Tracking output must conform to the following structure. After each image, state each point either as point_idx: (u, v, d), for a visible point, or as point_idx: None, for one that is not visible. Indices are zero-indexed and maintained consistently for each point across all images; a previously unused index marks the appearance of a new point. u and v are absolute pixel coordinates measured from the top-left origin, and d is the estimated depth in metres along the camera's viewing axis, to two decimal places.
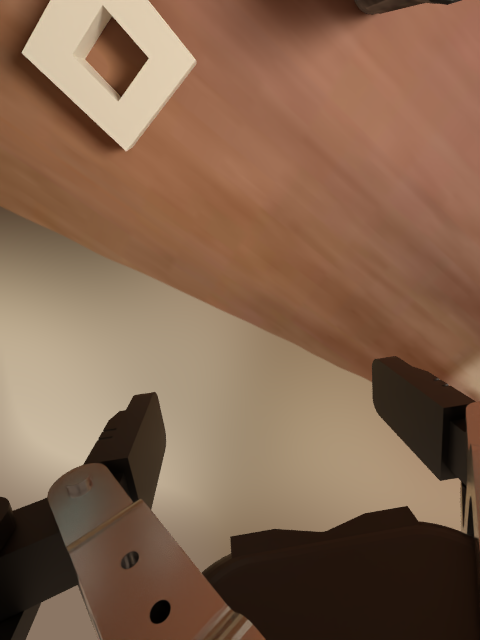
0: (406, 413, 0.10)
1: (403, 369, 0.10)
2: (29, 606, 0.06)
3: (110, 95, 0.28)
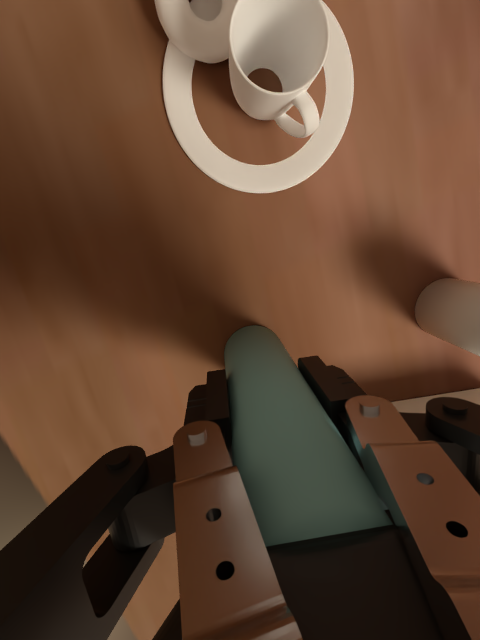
0: None
1: (316, 367, 0.11)
2: (162, 536, 0.07)
3: None
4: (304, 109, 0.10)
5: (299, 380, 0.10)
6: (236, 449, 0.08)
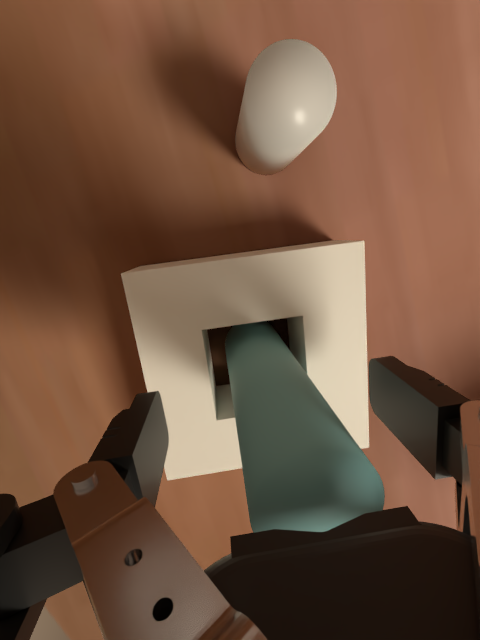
0: (402, 412, 0.10)
1: (399, 369, 0.10)
2: (36, 602, 0.06)
3: (211, 406, 0.14)
4: None
5: (293, 362, 0.11)
6: (240, 417, 0.09)
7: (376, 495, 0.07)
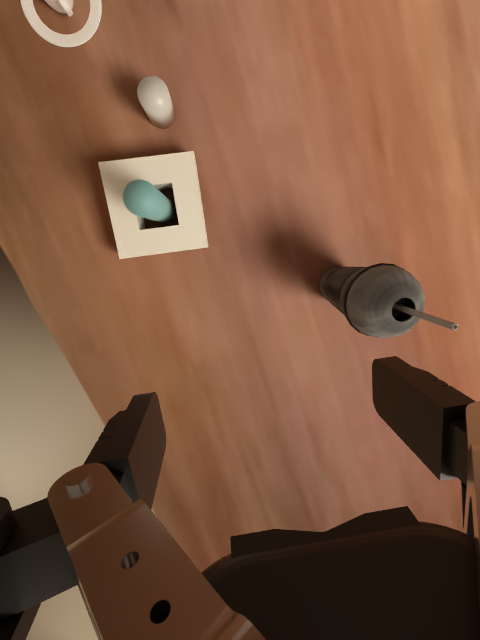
0: (406, 413, 0.10)
1: (402, 369, 0.10)
2: (29, 605, 0.06)
3: (137, 223, 0.35)
4: None
5: None
6: None
7: (156, 195, 0.27)
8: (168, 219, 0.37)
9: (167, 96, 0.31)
